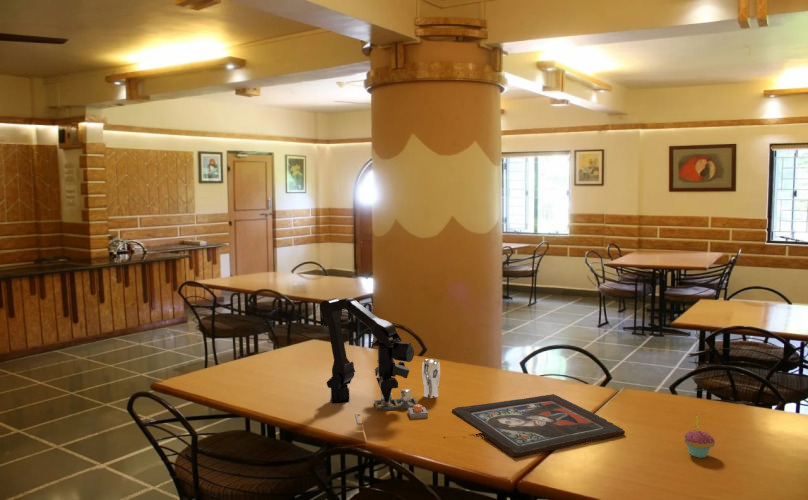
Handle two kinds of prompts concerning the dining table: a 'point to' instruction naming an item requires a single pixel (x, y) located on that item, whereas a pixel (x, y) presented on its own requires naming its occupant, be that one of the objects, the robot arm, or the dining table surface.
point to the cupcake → (698, 442)
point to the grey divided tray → (395, 405)
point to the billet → (384, 399)
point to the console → (418, 413)
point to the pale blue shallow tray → (357, 419)
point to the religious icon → (537, 424)
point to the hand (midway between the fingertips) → (386, 400)
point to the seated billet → (406, 397)
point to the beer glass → (431, 377)
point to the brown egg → (417, 408)
